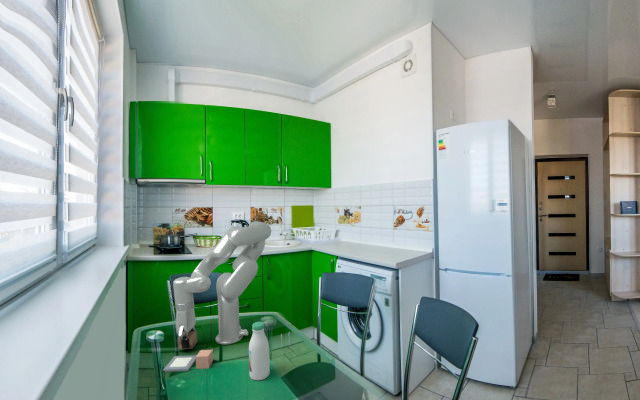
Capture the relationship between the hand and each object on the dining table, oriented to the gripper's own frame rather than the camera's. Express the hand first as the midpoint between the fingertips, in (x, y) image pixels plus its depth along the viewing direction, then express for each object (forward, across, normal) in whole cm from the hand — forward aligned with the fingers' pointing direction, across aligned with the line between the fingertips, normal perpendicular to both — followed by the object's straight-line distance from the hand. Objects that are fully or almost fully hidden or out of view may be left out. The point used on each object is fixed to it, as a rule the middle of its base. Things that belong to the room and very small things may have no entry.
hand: (189, 343), depth 137 cm
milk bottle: (+4, +21, +35) cm, 41 cm away
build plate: (+2, +12, +1) cm, 12 cm away
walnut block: (+1, 0, 0) cm, 1 cm away
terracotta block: (+3, +13, +11) cm, 17 cm away
